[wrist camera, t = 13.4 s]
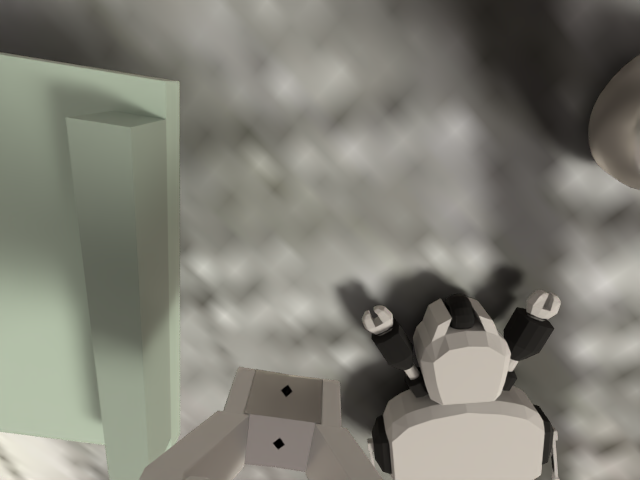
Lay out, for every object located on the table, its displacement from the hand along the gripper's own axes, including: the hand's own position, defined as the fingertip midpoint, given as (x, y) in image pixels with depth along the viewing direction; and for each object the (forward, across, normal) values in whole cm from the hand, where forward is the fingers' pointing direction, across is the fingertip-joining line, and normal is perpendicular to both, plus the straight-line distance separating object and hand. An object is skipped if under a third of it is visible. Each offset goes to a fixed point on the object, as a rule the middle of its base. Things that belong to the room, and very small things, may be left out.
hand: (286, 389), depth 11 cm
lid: (+3, +12, 0) cm, 13 cm away
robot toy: (+12, -11, +9) cm, 19 cm away
